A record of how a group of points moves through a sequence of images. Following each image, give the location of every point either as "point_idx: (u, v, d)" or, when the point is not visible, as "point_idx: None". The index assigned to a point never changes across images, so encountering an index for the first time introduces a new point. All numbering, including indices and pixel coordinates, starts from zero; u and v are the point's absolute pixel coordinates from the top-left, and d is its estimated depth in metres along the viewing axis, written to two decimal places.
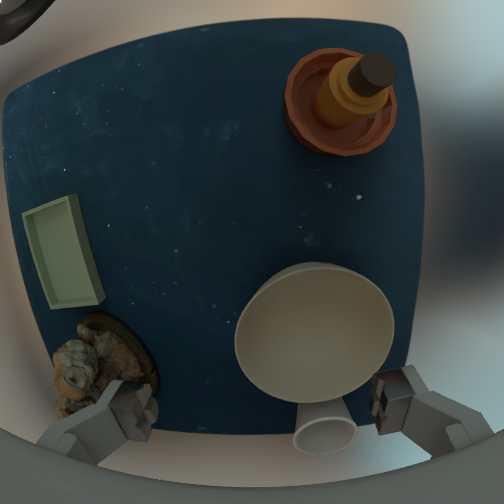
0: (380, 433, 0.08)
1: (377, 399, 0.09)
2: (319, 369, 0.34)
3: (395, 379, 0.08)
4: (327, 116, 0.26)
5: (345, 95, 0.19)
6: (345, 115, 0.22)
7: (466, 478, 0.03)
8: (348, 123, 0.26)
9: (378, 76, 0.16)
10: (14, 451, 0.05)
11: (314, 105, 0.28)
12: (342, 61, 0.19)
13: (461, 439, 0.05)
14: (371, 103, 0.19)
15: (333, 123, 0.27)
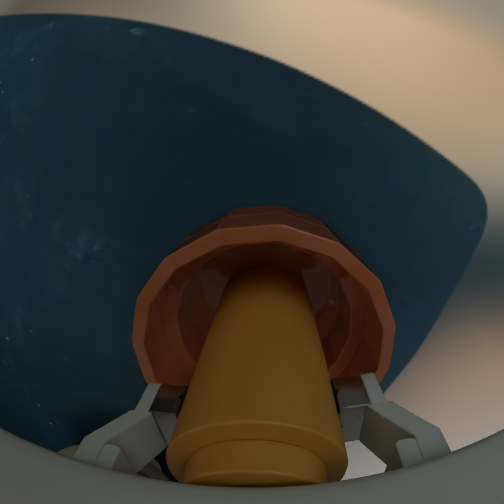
0: None
1: None
2: None
3: (352, 387, 0.08)
4: None
5: None
6: None
7: (466, 478, 0.03)
8: None
9: None
10: (14, 451, 0.05)
11: None
12: (245, 426, 0.06)
13: (412, 456, 0.05)
14: None
15: None
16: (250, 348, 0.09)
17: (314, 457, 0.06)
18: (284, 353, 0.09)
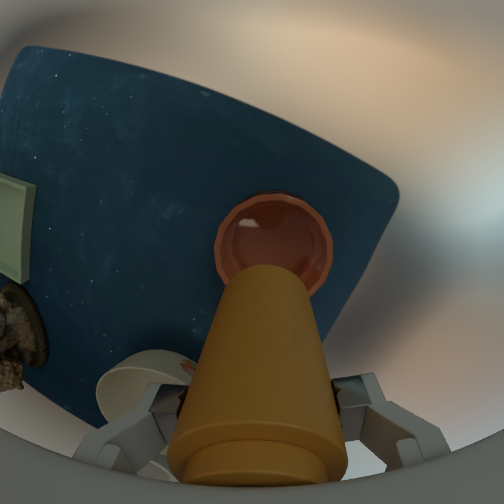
0: None
1: None
2: None
3: (352, 387, 0.08)
4: None
5: None
6: None
7: (466, 478, 0.03)
8: None
9: None
10: (14, 451, 0.05)
11: None
12: (245, 426, 0.06)
13: (412, 455, 0.05)
14: None
15: None
16: (251, 348, 0.09)
17: (314, 457, 0.06)
18: (284, 354, 0.09)
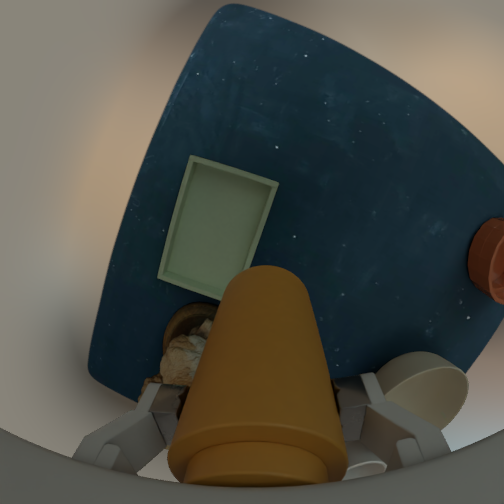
0: None
1: None
2: None
3: (352, 387, 0.08)
4: None
5: None
6: None
7: (466, 478, 0.03)
8: None
9: None
10: (14, 451, 0.05)
11: None
12: (246, 427, 0.06)
13: (412, 456, 0.05)
14: None
15: None
16: (252, 349, 0.09)
17: (315, 458, 0.06)
18: (285, 355, 0.09)
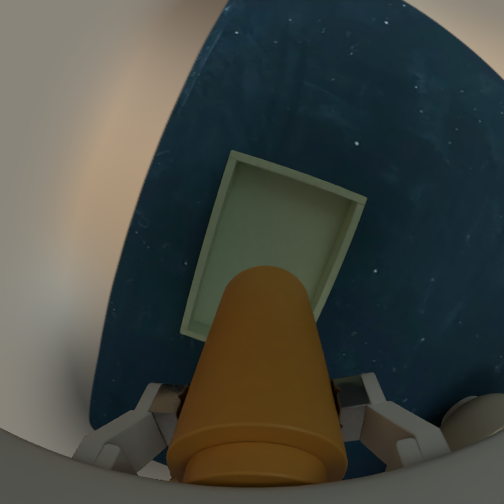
0: None
1: None
2: None
3: (352, 387, 0.08)
4: None
5: None
6: None
7: (466, 478, 0.03)
8: None
9: None
10: (14, 451, 0.05)
11: None
12: (245, 428, 0.06)
13: (412, 455, 0.05)
14: None
15: None
16: (251, 350, 0.09)
17: (314, 459, 0.06)
18: (284, 355, 0.09)
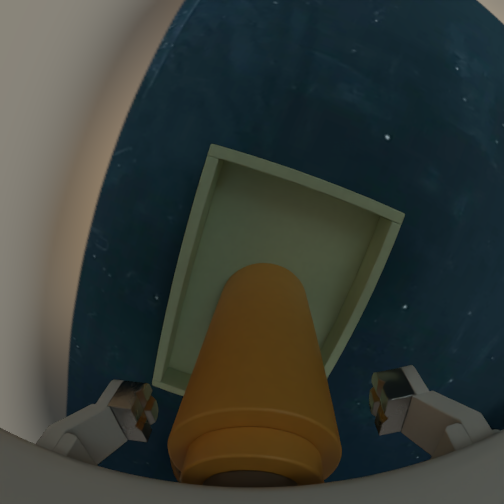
0: (380, 433, 0.08)
1: (377, 399, 0.09)
2: None
3: (395, 379, 0.08)
4: None
5: None
6: None
7: (466, 478, 0.03)
8: None
9: None
10: (14, 451, 0.05)
11: None
12: (242, 412, 0.06)
13: (461, 439, 0.05)
14: None
15: None
16: (249, 341, 0.09)
17: (309, 444, 0.06)
18: (280, 346, 0.09)
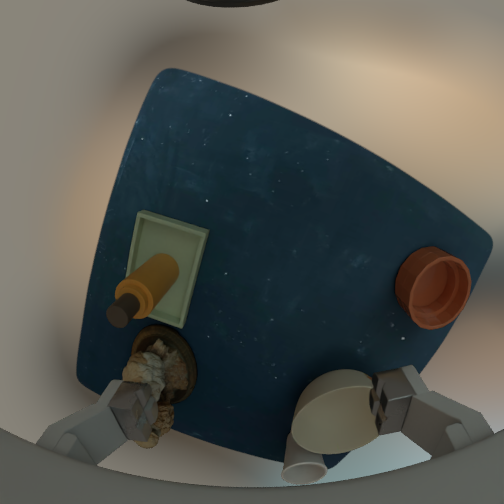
0: (380, 433, 0.08)
1: (377, 399, 0.09)
2: (323, 431, 0.44)
3: (395, 379, 0.08)
4: None
5: None
6: None
7: (466, 478, 0.03)
8: None
9: (114, 321, 0.28)
10: (14, 451, 0.05)
11: None
12: (128, 280, 0.32)
13: (461, 439, 0.05)
14: None
15: None
16: (138, 270, 0.35)
17: (142, 290, 0.32)
18: (145, 272, 0.35)
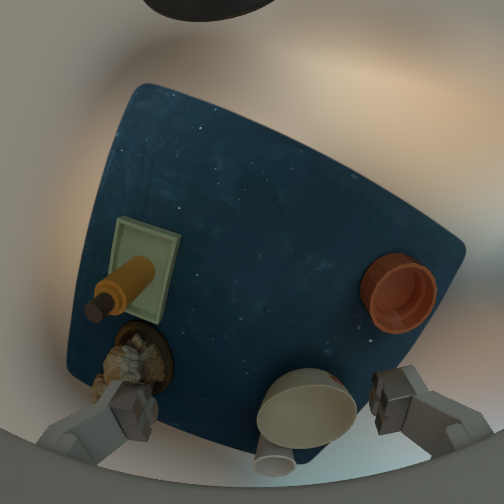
0: (380, 433, 0.08)
1: (377, 400, 0.09)
2: (291, 426, 0.48)
3: (395, 379, 0.08)
4: None
5: None
6: None
7: (466, 478, 0.03)
8: None
9: (91, 317, 0.32)
10: (14, 451, 0.05)
11: None
12: (105, 281, 0.35)
13: (461, 439, 0.05)
14: None
15: None
16: (115, 272, 0.38)
17: (116, 290, 0.35)
18: (120, 273, 0.38)
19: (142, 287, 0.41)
